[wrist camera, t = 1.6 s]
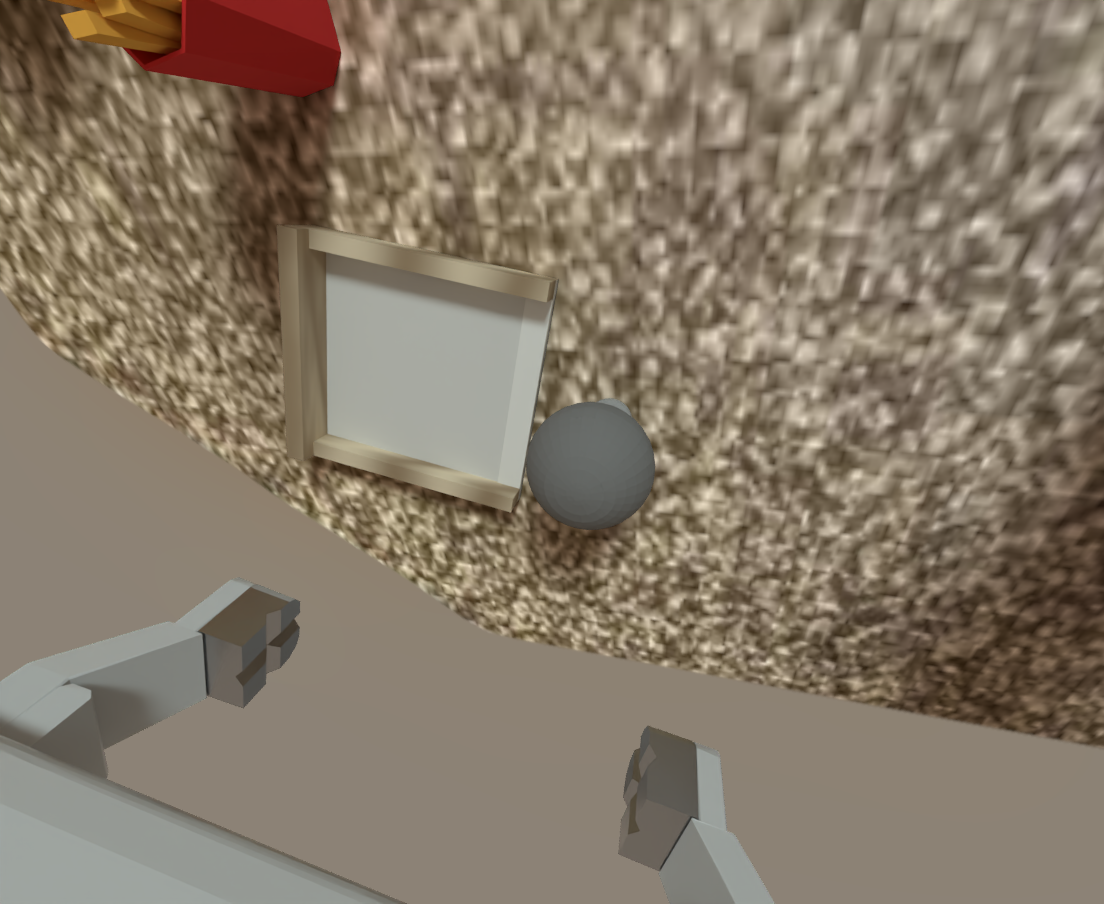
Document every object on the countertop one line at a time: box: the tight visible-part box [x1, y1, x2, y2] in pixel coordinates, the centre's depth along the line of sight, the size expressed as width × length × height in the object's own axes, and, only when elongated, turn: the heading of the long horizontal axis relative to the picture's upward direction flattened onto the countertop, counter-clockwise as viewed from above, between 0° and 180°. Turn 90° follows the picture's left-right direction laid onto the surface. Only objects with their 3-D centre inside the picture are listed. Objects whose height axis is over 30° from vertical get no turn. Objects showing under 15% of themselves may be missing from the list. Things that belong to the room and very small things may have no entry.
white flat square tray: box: [326, 252, 558, 500], centre depth 32 cm, size 15×14×1 cm
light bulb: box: [526, 398, 655, 530], centre depth 26 cm, size 6×6×10 cm
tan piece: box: [277, 225, 558, 512], centre depth 31 cm, size 15×14×3 cm
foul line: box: [498, 279, 559, 502], centre depth 31 cm, size 2×14×1 cm, turn 170°
